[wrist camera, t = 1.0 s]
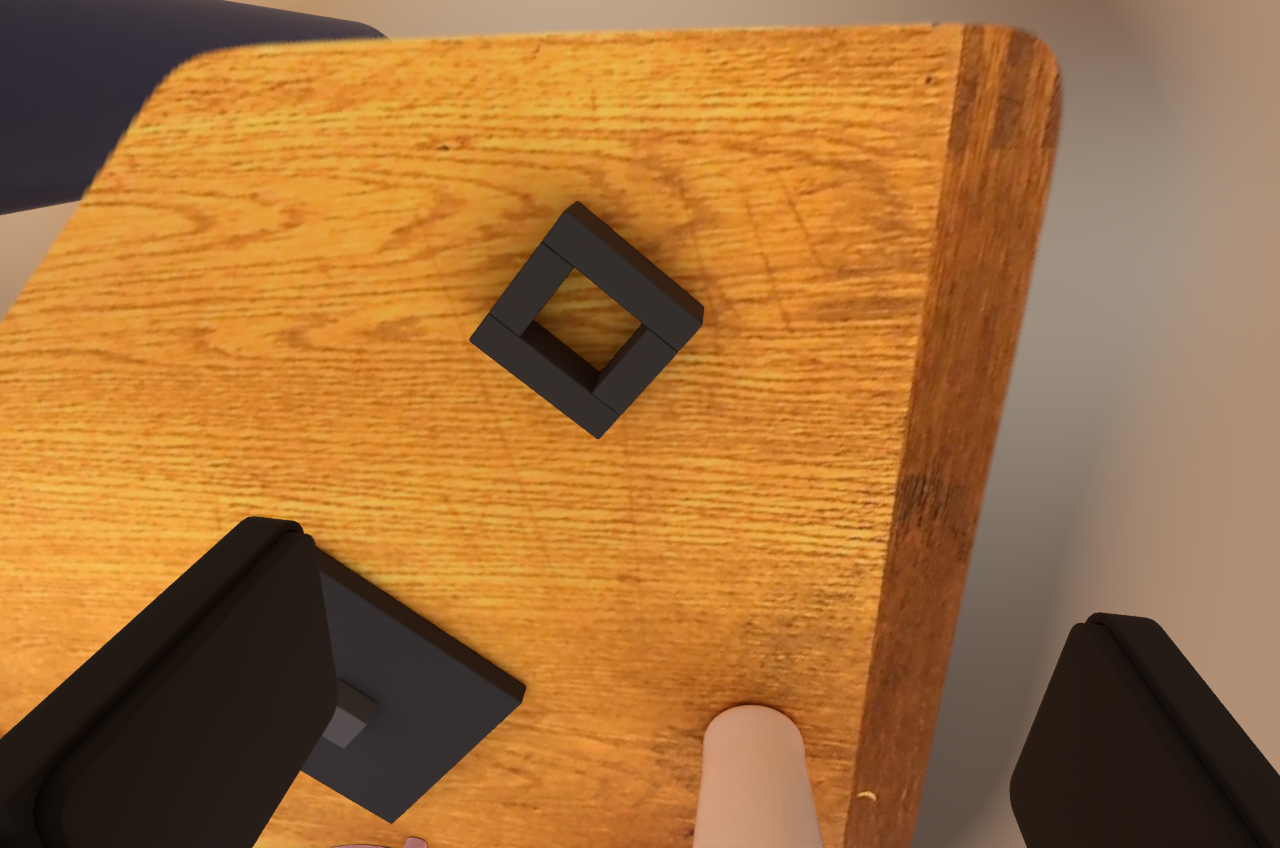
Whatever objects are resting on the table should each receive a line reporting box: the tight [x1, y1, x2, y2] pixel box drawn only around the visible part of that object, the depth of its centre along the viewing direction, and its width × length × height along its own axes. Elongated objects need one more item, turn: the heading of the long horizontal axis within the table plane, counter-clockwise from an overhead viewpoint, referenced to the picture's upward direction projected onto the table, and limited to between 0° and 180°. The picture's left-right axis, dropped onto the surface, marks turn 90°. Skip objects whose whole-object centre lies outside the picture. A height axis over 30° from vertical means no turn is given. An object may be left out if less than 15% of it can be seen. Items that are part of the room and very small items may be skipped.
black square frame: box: [469, 201, 704, 439], centre depth 29 cm, size 7×7×2 cm
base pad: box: [301, 548, 526, 824], centre depth 40 cm, size 14×14×3 cm
